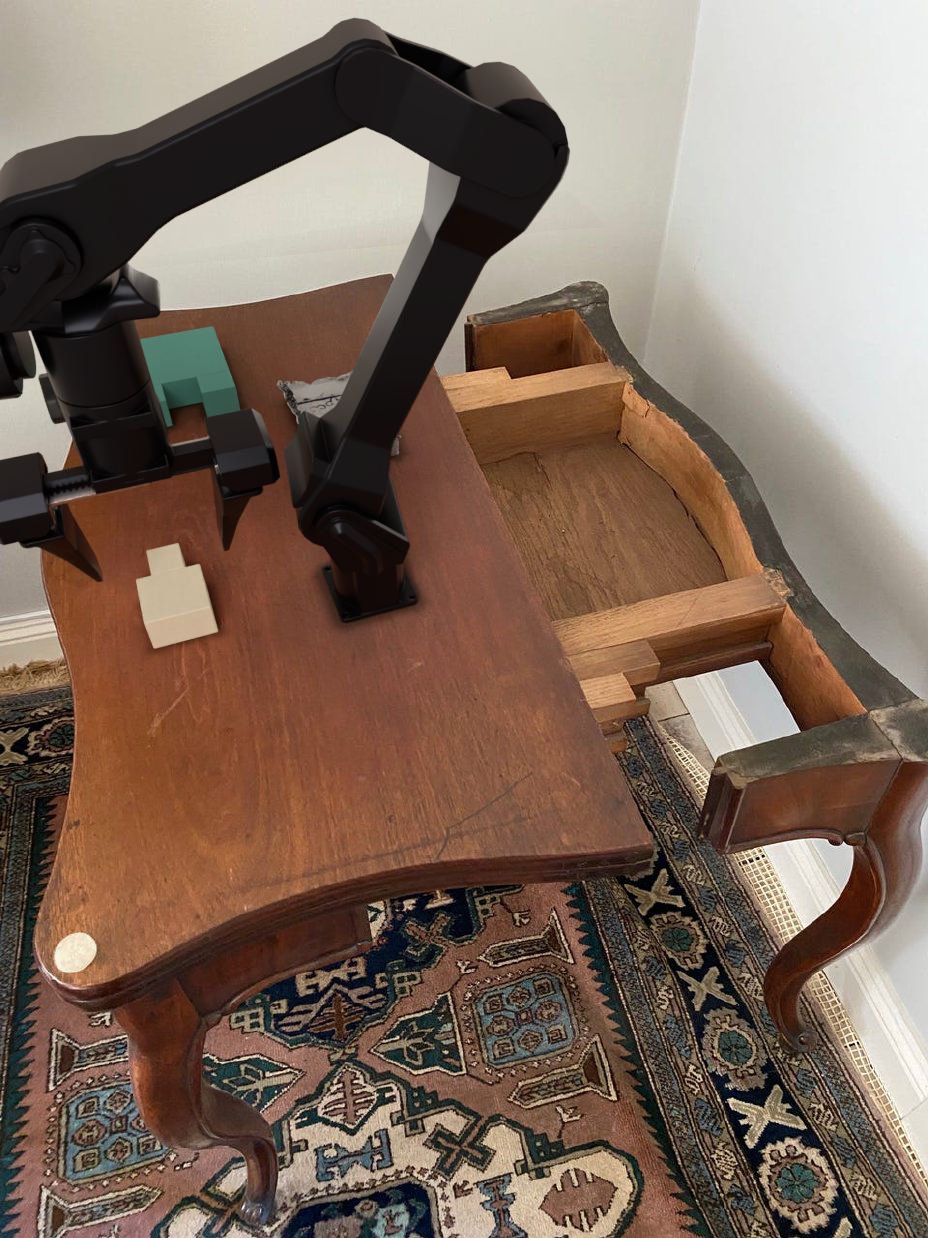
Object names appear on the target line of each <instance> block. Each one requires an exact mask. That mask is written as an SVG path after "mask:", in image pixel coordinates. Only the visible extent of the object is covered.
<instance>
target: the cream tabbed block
mask: <svg viewBox="0 0 928 1238" xmlns="http://www.w3.org/2000/svg"><path fill="white" fill-rule="evenodd" d="M145 554H146V557H147V563H148V567H149V573H150V575H148V576H143V577H140V578H136V579H135V583H136V584H135V585H136V590H137V594H138V600H139V604H140V605H139V606H140V611H141V615H142V620H143V625H144V627H145V629H146V630H145V631H146V633H147V635H148V638H149V640H150V643H151V645H152V648H153V649H160V648H163V647H167V646H171V645H175V644H178V643H182V642H186V641H189V640H193V639H197V638H200V637H205V636H208V635H213V634H217V633H219V627H218V624H217V621H216V617H215V616H216V615H215V613H214V609H213V605H212V602H211V601H212V600H211V598H210V594H209V590H208V586H207V583H206V580H205V576H204V573H203V570H202V565H201V564H200V563H197V564H193V565H188V566H186V562H185V559H184V556H183V552H182V550H181V547H180V544H179V542H177V543H171V544H168V545H164V546H160V547H159V546H158V547H155V548H151V549H147V550H146V553H145Z"/></svg>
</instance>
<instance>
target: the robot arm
mask: <svg viewBox="0 0 928 1238" xmlns="http://www.w3.org/2000/svg"><path fill="white" fill-rule="evenodd" d="M362 129H368V130H370V131H373V132H375V133H378V134H380V135H382V136H385V137H387V138H389V139H391V140H393V141H394V142H395V143H398V144H399V145H401V146H403V147H404V148H406V149H408V150H409V151H411V152H412V153H415V154H416V155H418V156H420V157H421V158H423V159H425V160H426V161H428V168H427V169H428V170H427V177H426V185H425V194H424V201H423V208H422V209H423V210H422V214H421V217H420V220H419V223H418V225H417V227H416V229H415V231H414V234H413V236H412V238H411V239H410V241H409V242H410V243H409V245H408V247H407V249H406V251H405V254H404V256H403V258H402V260H401V263H400V265H399V267H398V270H397V272H396V274H395V275H394V278H393V280H392V282H391V285H390V286H389V289H388V292H387V293H386V296H385V298H384V300H383V303H382V304H381V307H380V309H379V312H378V313H377V316H376V318H375V320H374V322H373V324H372V326H371V329H370V331H369V333H368V336H367V338H366V340H365V343H364V345H363V347H362V349H361V352H360V353H359V356H358V357H357V360H356V362H355V364H354V366H353V369H352V370H351V371H352V373H351V376H350V378H349V380H348V382H347V385H346V387H345V389H344V391H343V393H342V396H341V398H340V400H339V402H338V403H337V404H336V406H335V407H334V408H332V409H331V410H330V411H328V412H327V413H325V414H324V415H323V416H321V417H317V416H315V415H313V414H311V413H309V412H307V411H302V413H301V416H300V419H299V424H298V423H297V429H296V432H295V435H294V437H293V438H292V440H291V442H289V444H287V446H285V448H283V455H284V461H285V466H286V467H285V468H286V473H287V479H288V480H287V481H288V485H289V491H290V497H291V498H290V499H291V505H292V508H293V509H295V516H296V523H297V528H298V531H300V533H301V535H302V536H303V537H304V538H305V539H306V540H308V541H309V542H310V543H311V544H313V545H317V546H319V547H322V548H323V549H324V551H325V552H326V553H327V554H328V556H329V559H330V560H329V561H330V563H329V564H325V565H323V566H322V567H321V574H322V576H323V579H324V581H325V584H326V587H327V589H328V591H329V595H330V597H331V600H332V602H333V605H334V607H335V611H336V612H337V615H338V617H339V620H340V622H341V623H343V624H348V623H353V622H357V621H360V620H364V619H367V618H371V617H375V616H378V615H383V614H385V613H390V612H393V611H397V610H400V609H405V608H408V607H413V606H415V605H417V604H418V602H419V595H418V594H417V591H416V589H415V586H414V585H413V583H412V580H411V578H410V576H409V574H408V572H407V570H406V568H405V565H404V562H405V560H406V557H407V555H408V553H409V550H410V548H411V543H410V539H409V536H408V532H407V527H406V524H405V521H404V518H403V514H402V511H401V507H400V503H399V499H398V496H397V492H396V489H395V486H394V481H393V478H392V475H391V472H390V468H391V460H392V456H391V452H392V447H393V444H394V441H395V440H396V438H397V436H398V434H399V435H400V431H401V430H402V428H403V426H404V424H405V423H406V420H407V419H408V417H409V414H410V412H411V411H412V408H413V406H414V405H415V402H416V401H417V398H418V397H419V395H420V393H421V390H422V389H423V387H424V385H425V383H426V381H427V379H428V377H429V375H430V373H431V372H432V370H433V367H434V365H435V363H436V362H437V360H438V357H439V355H440V353H442V349H443V347H444V345H445V344H446V342H447V340H448V339H449V335H450V334H451V332H452V330H453V328H454V326H455V324H456V322H457V321H458V318H459V316H460V315H461V312H462V310H463V309H464V307H465V305H466V303H467V301H468V299H469V297H470V295H471V293H472V291H473V288H474V287H475V285H476V283H477V281H478V280H479V278H480V275H481V273H482V271H483V269H484V267H485V265H486V264H487V263H488V262H489V260H490V259H491V258H492V257H494V256H495V255H496V254H497V253H498V252H500V251H501V250H503V249H504V248H505V247H506V246H507V245H509V244H510V243H511V242H513V241H514V240H515V239H517V238H518V237H520V236H521V235H522V234H524V233H525V232H526V230H527V229H528V228H529V227H530V225H531V224H532V222H533V221H534V220H535V219H536V217H537V216H538V214H539V213H540V212H541V210H542V209H543V208H544V206H545V205H546V203H547V202H548V201H549V199H550V198H551V197H552V195H553V194H554V193H555V191H556V190H557V188H558V187H559V185H560V184H561V182H562V181H563V180H564V176H565V173H566V171H567V167H568V166H569V162H570V155H571V149H570V146H569V140H568V135H567V130H566V126H565V124H564V123H563V121H562V119H561V118H560V116H559V114H558V113H557V111H556V110H555V109H554V108H553V107H552V105H551V104H550V103H549V102H548V101H547V99H546V98H545V97H544V95H542V93H541V92H540V91H539V89H538V88H537V87H536V86H535V84H533V82H532V81H531V79H529V77H528V75H526V74H525V73H523V71H521V70H520V69H518V68H517V67H516V66H515V65H512V64H509V63H505V62H502V61H489V62H482V63H480V64H478V65H475V66H473V65H471V64H470V63H468V62H465V61H463V60H461V59H460V58H457V57H455V56H452V55H450V54H449V53H447V52H445V51H442V50H440V49H437V48H435V47H430V46H428V45H425V44H422V43H418V42H415V41H412V40H410V39H406V38H404V37H403V38H402V37H400V36H397V35H394V34H393V33H391V32H388V31H387V30H384V29H383V28H382V27H381V26H379V25H378V24H376V23H374V22H372V21H371V20H369V19H368V18H367V19H366V18H360V17H352V18H351V17H350V18H347V19H343V20H341V21H339V22H338V23H336V24H335V25H333V26H332V27H331V28H330V29H329V30H328V31H327V32H326V33H325V34H324V35H322V36H320V37H319V38H316V39H315V40H313V41H311V42H309V43H307V44H305V45H303V46H301V47H298V48H297V49H295V50H292V51H290V52H289V53H286V54H285V55H282V56H280V57H278V58H277V59H274V60H272V61H271V62H268V63H265V64H264V65H262V66H260V67H258V68H256V69H253V70H252V71H250V72H248V73H246V74H244V75H242V76H240V77H238V78H235V79H234V80H232V81H229V82H228V83H225V84H223V85H221V86H219V87H218V88H216V89H213V90H211V91H210V92H208V93H205V94H204V95H201V96H200V97H197V98H195V99H193V100H191V101H189V102H187V103H185V104H183V105H181V106H179V107H177V108H175V109H173V110H171V111H169V112H167V113H165V114H162V115H161V116H159V117H156V118H155V119H153V120H150V121H149V122H147V123H144V124H143V125H140V126H139V127H135V128H133V129H128V130H125V131H121V132H118V133H112V134H94V135H92V134H91V135H78V136H73V137H69V138H66V139H65V138H64V139H62V140H58V141H54V142H51V143H46V144H44V145H39V146H35V147H32V148H28V149H24V150H22V151H20V152H16V154H14V155H13V156H12V157H10V158H9V159H8V160H7V161H5V162H4V164H3V165H2V167H1V168H0V401H5V400H12V399H18V398H21V396H22V395H23V394H24V393H23V392H24V380H30V379H32V380H33V379H34V378H36V375H37V359H36V353H35V349H34V345H33V341H34V344H35V346H36V349H37V351H38V353H39V356H40V359H41V362H42V364H43V367H44V369H45V372H46V373H45V372H44V373H40V374H38V382H39V385H40V389H41V393H42V396H43V399H44V403H45V405H46V409H47V412H48V414H49V418H50V420H51V422H52V424H54V425H58V424H63V423H65V424H66V426H67V428H68V430H69V433H70V436H71V439H72V441H73V443H74V446H75V449H76V451H77V455H78V457H79V460H80V462H81V464H82V465H79V466H73V467H68V468H65V469H64V468H63V469H61V470H55V471H50V472H49V468H48V464H47V462H46V460H45V457H44V455H43V454H42V453H41V452H40V451H37V452H31V453H27V454H23V455H17V456H12V457H8V458H3V459H0V545H1V546H7V545H11V544H15V543H18V544H19V546H20V547H21V548H22V549H33V548H39V549H40V550H42V551H45V552H46V553H49V554H50V555H53V556H55V557H57V558H59V559H60V560H62V561H64V562H67V563H68V564H70V565H71V566H72V567H74V568H76V569H77V570H79V571H80V572H82V573H83V574H84V575H86V576H88V577H89V578H91V579H93V581H96V582H97V583H102V582H103V581H104V576H103V570H102V568H101V565H100V563H99V560H98V558H97V555H96V553H95V551H94V549H93V548H92V546H91V545H90V543H89V541H88V539H87V537H86V536H85V534H84V532H83V530H82V529H81V527H80V525H79V523H78V522H77V520H76V519H75V516H74V514H73V513H72V510H71V509H70V506H69V503H74V502H79V501H84V500H87V499H92V498H97V497H101V496H106V495H110V494H114V493H119V492H124V491H129V490H132V489H137V488H138V489H139V488H142V487H146V486H150V485H151V484H153V483H155V482H159V481H164V480H169V479H173V477H175V476H180V475H181V476H182V475H185V474H190V473H194V472H198V471H203V470H207V469H210V475H211V482H212V491H213V501H214V511H215V518H216V528H217V532H218V535H219V539H220V542H221V545H222V549H223V552H228V551H230V549H231V547H232V543H233V541H234V536H235V533H236V530H237V527H238V524H239V521H240V519H241V517H242V515H243V513H244V512H245V510H246V508H247V506H248V504H249V502H250V500H251V499H252V498H255V497H258V496H260V495H261V494H263V493H264V487H266V486H270V485H275V484H276V483H277V481H278V480H279V479H280V478H281V473H280V467H279V462H278V457H277V454H276V449H275V447H274V444H273V441H272V439H271V436H270V434H269V431H268V428H267V426H266V423H265V420H264V418H263V415H262V414H261V413H260V412H258V411H257V410H255V409H254V408H252V407H249V408H245V409H240V410H239V411H234V412H229V413H225V414H220V415H215V416H210V417H207V416H205V417H203V421H204V426H205V430H206V434H207V436H203V437H200V438H195V439H190V440H185V441H180V442H176V443H171V441H170V436H169V433H170V432H169V429H168V427H167V425H166V422H165V418H164V415H163V411H162V408H161V404H160V401H159V398H158V396H157V394H156V393H155V389H154V386H153V382H152V379H151V376H150V372H149V369H148V365H147V362H146V359H145V355H144V352H143V348H142V345H141V341H140V339H141V337H140V335H139V332H138V328H137V325H136V322H135V321H138V320H139V321H141V320H147V319H148V320H149V319H156V318H158V317H159V316H160V315H161V283H160V281H159V280H158V279H156V278H155V277H153V276H151V275H149V274H147V273H145V272H142V271H140V270H137V269H136V268H134V267H133V266H132V265H131V264H130V263H129V262H130V261H132V259H133V258H134V257H135V255H136V254H137V253H138V252H140V250H142V248H143V247H144V246H145V245H146V244H147V243H148V242H149V241H150V239H151V238H152V237H153V236H154V235H155V234H156V233H157V232H158V231H159V230H161V229H162V228H163V227H165V226H166V225H168V223H171V221H173V220H174V219H176V218H177V217H179V216H181V215H184V214H186V213H188V212H189V211H191V210H194V209H196V208H198V207H200V206H202V205H205V204H207V203H209V202H210V201H211V202H212V200H215V199H218V198H219V197H221V196H223V195H225V194H227V193H229V192H232V191H234V190H236V189H238V188H240V187H242V186H244V185H246V184H248V183H250V182H252V181H254V180H256V179H258V178H261V177H263V176H265V175H267V174H269V173H271V172H273V171H275V170H277V169H280V168H282V167H283V166H286V165H288V164H290V163H292V162H295V161H296V160H298V159H300V158H303V157H304V156H306V155H309V154H311V153H313V152H314V151H317V150H320V149H321V148H323V147H325V146H327V145H329V144H332V143H333V142H336V141H338V140H340V139H342V138H344V137H346V136H348V135H351V134H352V133H354V132H356V131H359V130H362ZM30 333H31V334H30ZM31 336H32V337H31ZM32 338H33V340H32Z"/></svg>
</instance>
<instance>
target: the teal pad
mask: <svg viewBox="0 0 928 1238" xmlns="http://www.w3.org/2000/svg"><path fill="white" fill-rule="evenodd" d="M140 341H141V345H142V348H143V352H144V355H145V359H146V362H147V365H148V369H149V372H150V376H151V379H152V382H153V386H154V389H155V393H156V394H157V396H158V398H159V401H160V404H161V408H162V411H163V415H164V418H165V422H166V425H167V428H169V427H173V426H174V424H173V420H172V418H171V414H170V409H175V408H181V407H186V406H191V405H196V404H201V403H202V405H203V409H204V411H205V415H206V417H210V416H215V415H220V414H225V413H229V412H234V411H239V410H241V406H240V402H239V396H238V392H237V387H236V385H235V381H234V379H233V376H232V373H231V370H230V368H229V365H228V362H227V359H226V357H225V355H224V352H223V349H222V346H221V344H220V341H219V339H218V336H217V333H216V330H215V327H214V326H213V325H211V326H206V327H201V328H195V329H188V330H184V331H179V332H172V333H167V334H161V335H156V336H151V337H145V338H140Z"/></svg>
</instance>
